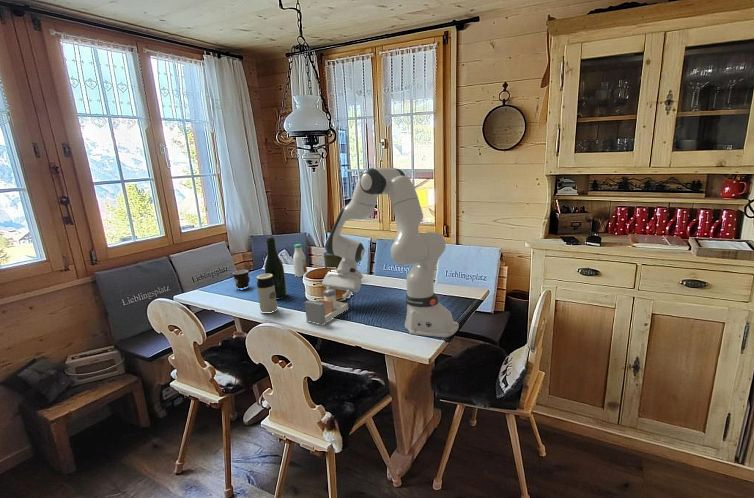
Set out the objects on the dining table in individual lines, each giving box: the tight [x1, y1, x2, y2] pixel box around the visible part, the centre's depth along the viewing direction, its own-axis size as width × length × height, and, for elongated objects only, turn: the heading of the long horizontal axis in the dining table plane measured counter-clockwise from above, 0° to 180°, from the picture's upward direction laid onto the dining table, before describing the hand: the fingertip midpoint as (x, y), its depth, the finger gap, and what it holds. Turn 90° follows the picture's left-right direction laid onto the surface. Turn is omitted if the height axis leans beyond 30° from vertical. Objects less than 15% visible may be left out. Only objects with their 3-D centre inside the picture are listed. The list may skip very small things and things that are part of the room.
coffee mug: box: [232, 269, 251, 288], centre depth 233 cm, size 12×9×10 cm
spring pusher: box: [318, 298, 333, 315], centre depth 186 cm, size 7×1×7 cm, turn 59°
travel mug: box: [256, 273, 278, 312], centre depth 195 cm, size 8×8×18 cm
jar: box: [322, 288, 337, 311], centre depth 188 cm, size 6×6×11 cm
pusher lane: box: [304, 300, 350, 325], centre depth 186 cm, size 9×20×10 cm, turn 149°
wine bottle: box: [264, 235, 288, 298], centre depth 213 cm, size 10×10×33 cm
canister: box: [323, 251, 342, 269], centre depth 235 cm, size 11×10×20 cm
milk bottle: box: [292, 243, 308, 278], centre depth 251 cm, size 8×8×20 cm
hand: (335, 297), depth 192 cm, fingers open, 8 cm apart
